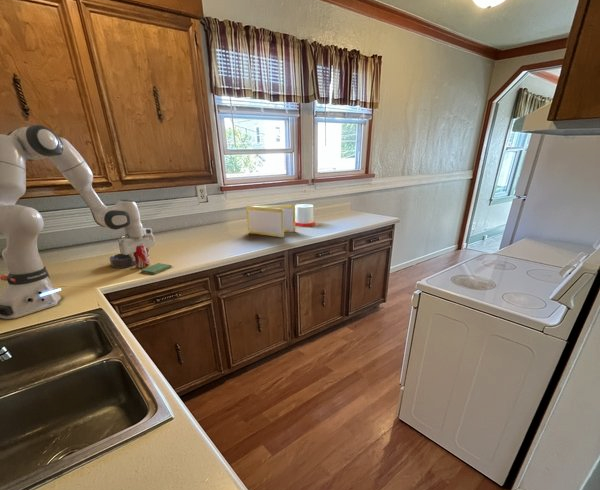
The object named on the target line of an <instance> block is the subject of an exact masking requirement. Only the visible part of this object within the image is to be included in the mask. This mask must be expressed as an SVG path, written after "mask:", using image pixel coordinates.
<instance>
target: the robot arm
mask: <svg viewBox="0 0 600 490" xmlns="http://www.w3.org/2000/svg"><path fill="white" fill-rule="evenodd" d="M42 159H47V160H49V161H50V162H51V163H53V164H54V166H55V167H56V169H57V170H58V172H60V174H61V175H62V176H63V177H64V178H65V180H66V181H67V182H68V183H69V185H71V186H72V187H73V188H74V190H76V192H77V193H78V194H79V196H80V197H81V199H82V200H83V201H84V202H85V204H86V205H87V207H88V208H89V210H90V211H91V215H92V218H93V221H94V223H96V224H97V226H99V227H101V228H106V229H110V230H116V231H117V230H120V229H123V231H124V235H120V236H119V237H118V239H117V242H118V249H119V254H123V255H128V254H129V256H130V257H131V258H132V261H136V260H137V259H136V257H134V256H133V255H134V254H133V253H134V252H136V248H137V247H136V246H140V245H143V244H144V246H145V247H146V250H147V254H148V257H150V250H151V249H150V248H152V247H155V245H156V241H155V236H154V234H153V230H152V228H147V227H144V226H143V224H142V221H141V213H140V209H139V207H138V205H137V202H136V201H134V200H131V199H121V198H120V199H118V201H117V202H116V203H115V204H114V205H112V206H110V207H109V206H107V205H105V203H103V201H102V200H101V198H100V197H99V195H98V194H97V192H96V190H94V188H93V181H94V174H93V172H92V170H91V168H90V166H89V165H88V163H87V161H86V160H85V159H84V157H83V156H82V155H81V154H80V153H79V151H78V150H77V149H76V148H75V147H74V146H73V144H71V143H70V141H69V140H68V139H66V138H64V137H62V136H61V137H60V136H58V135H57V134H56V132H54V131H53V130H52V129H50V128H49V127H47V126H45V125H41V124H32V125H29V126H22V127H19V128H17V129H15V130H12V131H10V132H8V133H7V134H4V133H3V134H2V133H0V236H5V238H6V247H5V248H4V249H3V250H2V252H1V257H2V259H3V261H4V263H5V265H6V268H7V270H8V274H7V275H4V274H1V275H0V280H1V281H4V282H6V281H7V283H8V284H7V285H6V286H5V287H4V288H3V290H2V291H1V292H0V319H3V320H13V319H17V318H20V317H25V316H28V315H30V314H34V313H37V312H40V311H43V310H46V309H49V308H52V307H55V306H57V305H58V303H59V301H61V299H62V296H61V295H60V293H58V292H60V291H62V288H57V289H56V287H54V285H53V283H52V281H51V278H50V275H49V272H48V270H47V268H46V266H44V263H43V261H42V258H41V255H40V252H39V248H38V237H39V235H40V233H41V232H42V231H43V229H44V226H45V225H44V224H45V222H44V218H43V215H42V214H41V212H39V211H38V210H37V209H35V208H34V207H30V206H26V205H22V204H17V202H18V200H19V199H20V198H21V197H23V196H24V195H25V194H26V191H27V164H26V163H27V162H28V161H29V162H30V161H34V160H42Z"/></svg>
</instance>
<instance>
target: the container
mask: <svg viewBox="0 0 600 490" xmlns="http://www.w3.org/2000/svg"><path fill="white" fill-rule="evenodd" d="M294 206H295V227H296V226H297V227H311V226H314V225H315V221H314V218H315V217H314V216H315V215H314V214H315V213H314V212H315V211H314V209H315V208H314V207H315V206H314V204H311V203H309V204H308V203H302V204H301V203H300V204H296V205H294Z"/></svg>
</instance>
